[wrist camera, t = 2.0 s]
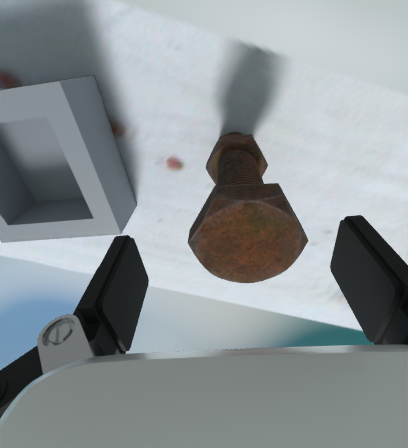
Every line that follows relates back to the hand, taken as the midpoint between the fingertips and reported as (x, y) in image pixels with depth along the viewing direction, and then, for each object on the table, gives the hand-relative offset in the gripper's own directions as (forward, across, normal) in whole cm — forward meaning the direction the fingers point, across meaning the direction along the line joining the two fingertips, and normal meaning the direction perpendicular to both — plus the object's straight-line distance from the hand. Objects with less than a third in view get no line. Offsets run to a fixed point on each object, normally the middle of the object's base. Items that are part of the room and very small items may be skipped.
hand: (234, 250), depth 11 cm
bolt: (+15, -1, 0) cm, 15 cm away
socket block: (+16, +17, -1) cm, 23 cm away
